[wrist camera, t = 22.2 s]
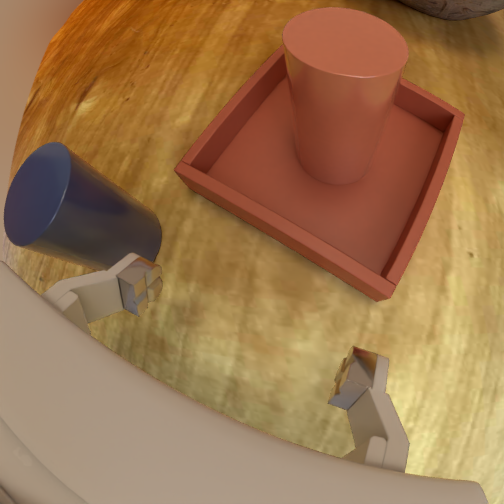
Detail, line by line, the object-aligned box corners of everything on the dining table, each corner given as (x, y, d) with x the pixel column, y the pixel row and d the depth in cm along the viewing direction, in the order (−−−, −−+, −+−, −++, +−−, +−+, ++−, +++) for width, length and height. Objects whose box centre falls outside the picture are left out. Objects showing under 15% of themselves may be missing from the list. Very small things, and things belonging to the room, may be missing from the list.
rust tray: (377, 302, 17) (390, 299, 15) (189, 188, 21) (173, 170, 18) (451, 134, 19) (465, 113, 16) (293, 59, 23) (290, 35, 20)
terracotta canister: (328, 200, 19) (342, 96, 9) (279, 141, 20) (257, 29, 11) (389, 159, 19) (432, 55, 9) (339, 107, 20) (347, -2, 11)
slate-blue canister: (116, 291, 21) (10, 268, 11) (92, 232, 22) (0, 188, 13) (174, 249, 20) (80, 196, 11) (144, 191, 22) (62, 122, 12)
